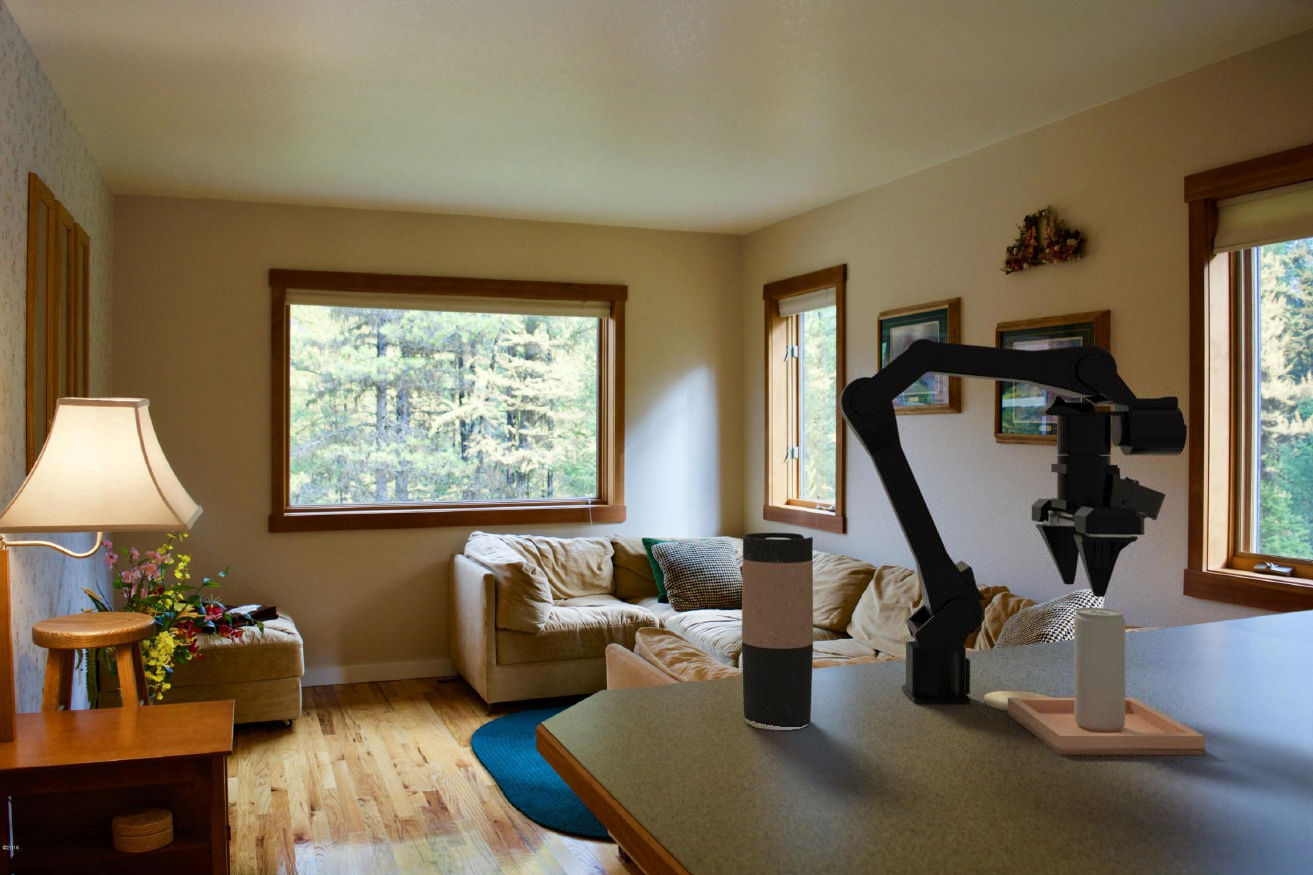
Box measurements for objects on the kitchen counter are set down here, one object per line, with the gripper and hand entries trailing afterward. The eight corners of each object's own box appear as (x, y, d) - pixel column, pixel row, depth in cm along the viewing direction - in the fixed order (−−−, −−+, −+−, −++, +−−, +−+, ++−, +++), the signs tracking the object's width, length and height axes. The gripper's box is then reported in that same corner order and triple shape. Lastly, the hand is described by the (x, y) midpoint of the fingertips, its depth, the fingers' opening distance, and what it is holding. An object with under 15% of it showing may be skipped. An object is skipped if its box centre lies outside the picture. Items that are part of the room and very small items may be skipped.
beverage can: (1119, 736, 99) (1119, 617, 99) (1068, 727, 102) (1069, 612, 102) (1129, 725, 103) (1130, 610, 103) (1080, 717, 105) (1081, 605, 105)
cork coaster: (998, 713, 109) (998, 709, 109) (974, 694, 117) (974, 690, 117) (1070, 713, 109) (1070, 709, 109) (1041, 694, 117) (1041, 690, 117)
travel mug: (730, 725, 104) (730, 537, 104) (757, 708, 111) (757, 531, 111) (798, 735, 101) (799, 540, 101) (822, 717, 107) (823, 534, 107)
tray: (1060, 754, 95) (1060, 735, 95) (1007, 713, 109) (1007, 697, 109) (1204, 754, 95) (1204, 736, 95) (1133, 713, 109) (1133, 697, 109)
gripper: (1195, 457, 104) (1194, 604, 104) (1121, 454, 123) (1120, 579, 123) (1087, 457, 105) (1087, 603, 105) (1030, 454, 123) (1030, 578, 123)
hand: (1083, 590), depth 114 cm, fingers open, 9 cm apart
